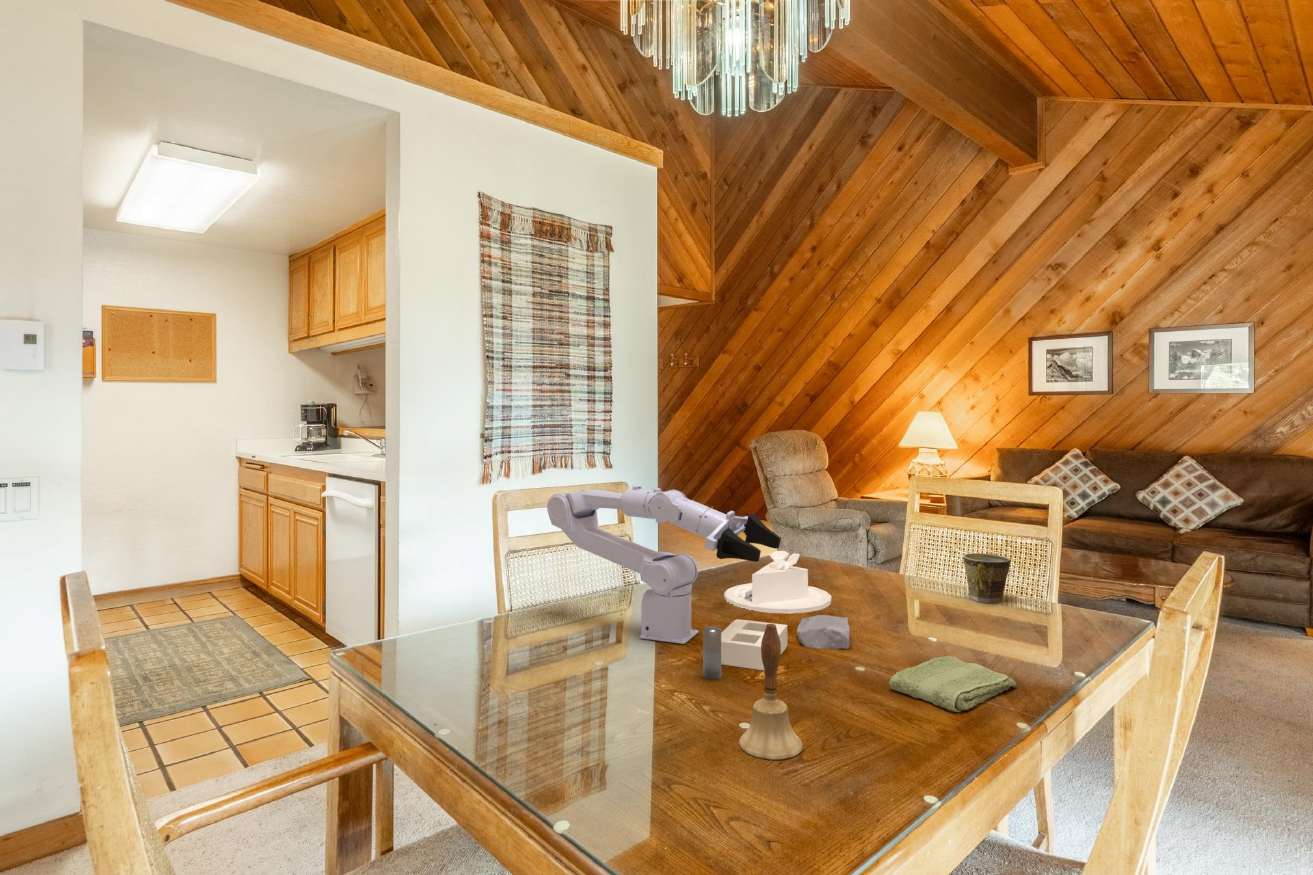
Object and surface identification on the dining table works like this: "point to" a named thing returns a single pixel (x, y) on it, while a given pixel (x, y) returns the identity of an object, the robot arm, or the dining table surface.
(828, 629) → the stone block
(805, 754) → the dining table surface
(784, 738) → the hand bell
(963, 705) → the washcloth
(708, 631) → the peg
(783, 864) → the dining table surface
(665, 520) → the robot arm
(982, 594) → the ceramic cup
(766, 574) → the dish
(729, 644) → the hole block
